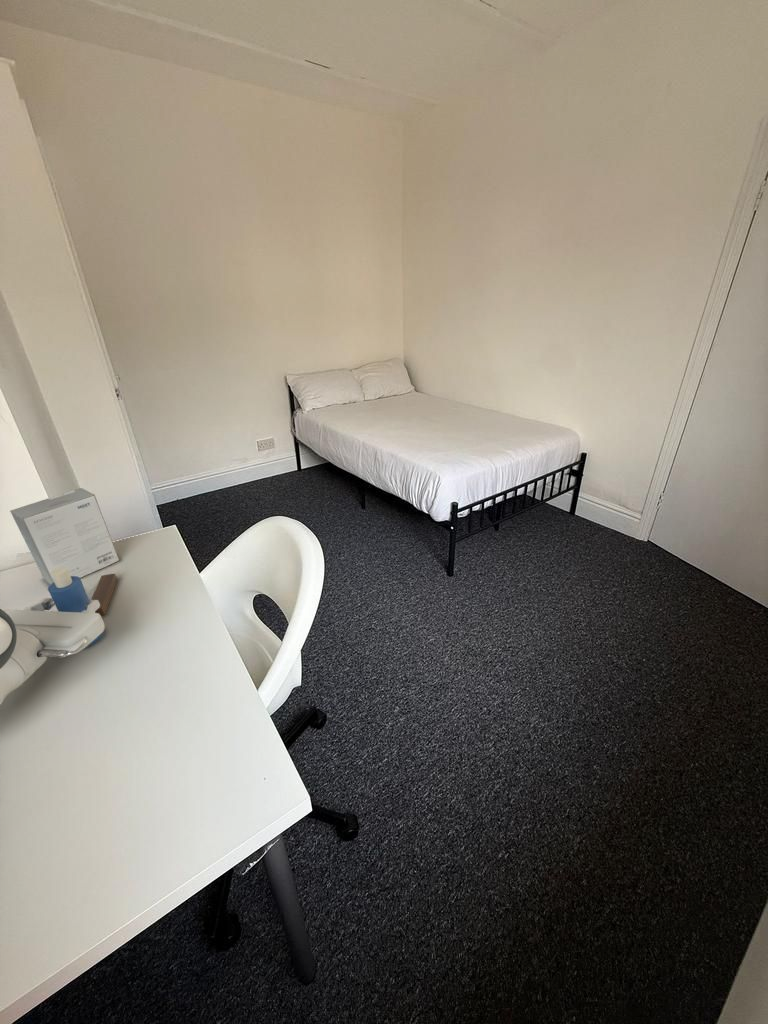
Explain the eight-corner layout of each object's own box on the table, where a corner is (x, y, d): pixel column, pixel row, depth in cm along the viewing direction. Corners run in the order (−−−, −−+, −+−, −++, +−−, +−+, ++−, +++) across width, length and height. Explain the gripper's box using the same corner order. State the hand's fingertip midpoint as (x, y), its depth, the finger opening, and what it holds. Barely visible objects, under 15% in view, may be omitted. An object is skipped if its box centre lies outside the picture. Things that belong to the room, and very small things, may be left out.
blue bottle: (70, 650, 83) (37, 581, 76) (77, 633, 88) (47, 566, 80) (100, 643, 85) (70, 575, 77) (105, 627, 89) (78, 561, 82)
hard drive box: (107, 552, 116) (83, 487, 107) (120, 561, 112) (96, 493, 103) (42, 579, 105) (8, 509, 96) (54, 590, 101) (20, 518, 92)
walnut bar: (88, 618, 92) (85, 611, 91) (103, 582, 104) (101, 575, 103) (104, 615, 93) (101, 608, 92) (117, 579, 105) (114, 573, 104)
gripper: (64, 643, 68) (118, 590, 80) (-52, 637, 69) (19, 586, 82) (78, 670, 71) (127, 615, 83) (-34, 665, 72) (31, 611, 85)
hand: (73, 601), depth 82 cm, fingers open, 8 cm apart
